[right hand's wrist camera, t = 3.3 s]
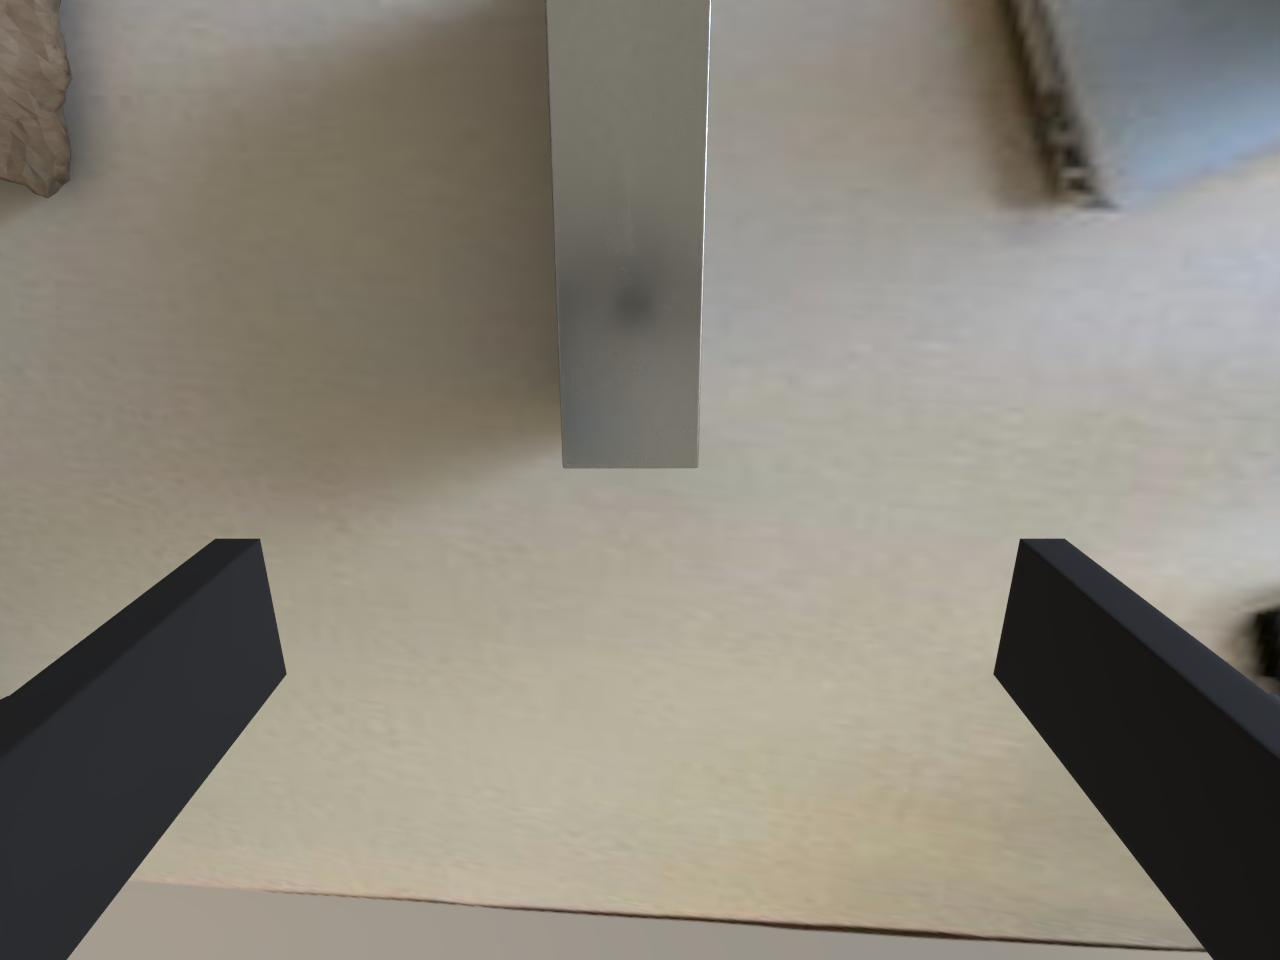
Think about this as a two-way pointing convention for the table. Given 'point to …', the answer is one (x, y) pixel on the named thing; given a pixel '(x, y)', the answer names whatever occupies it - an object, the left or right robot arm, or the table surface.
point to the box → (629, 225)
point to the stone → (33, 96)
